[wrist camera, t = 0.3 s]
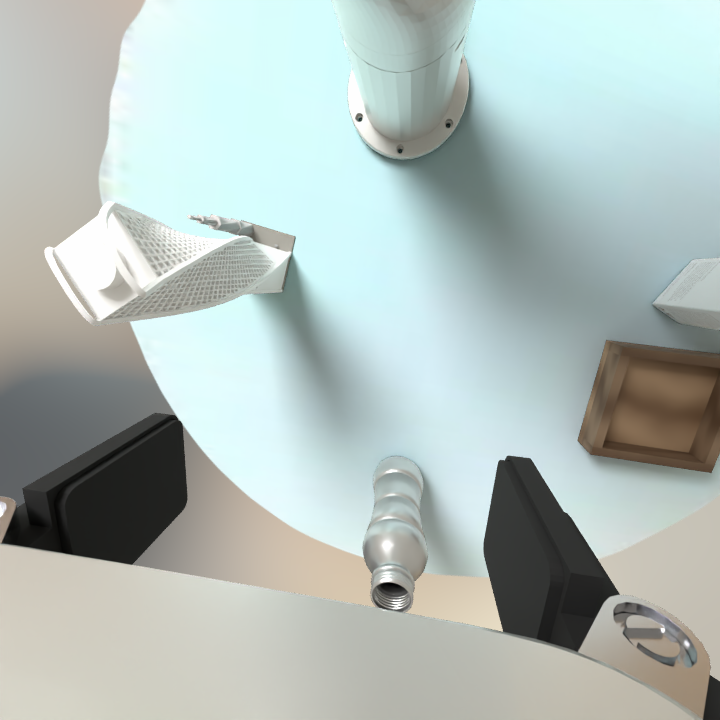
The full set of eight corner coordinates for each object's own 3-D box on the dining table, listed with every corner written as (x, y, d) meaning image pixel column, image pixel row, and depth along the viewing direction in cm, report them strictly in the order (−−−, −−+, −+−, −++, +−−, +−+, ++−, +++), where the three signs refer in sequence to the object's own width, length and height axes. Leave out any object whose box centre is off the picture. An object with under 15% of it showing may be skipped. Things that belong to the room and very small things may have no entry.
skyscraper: (307, 240, 45) (149, 200, 18) (292, 303, 47) (131, 354, 20) (243, 220, 45) (-6, 153, 18) (231, 284, 47) (-6, 308, 20)
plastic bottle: (392, 440, 49) (380, 552, 30) (433, 469, 50) (446, 597, 30) (365, 473, 51) (338, 598, 32) (404, 500, 51) (400, 641, 32)
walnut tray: (606, 340, 42) (623, 346, 39) (727, 355, 41) (756, 362, 38) (577, 440, 46) (590, 454, 42) (688, 457, 44) (711, 472, 41)
